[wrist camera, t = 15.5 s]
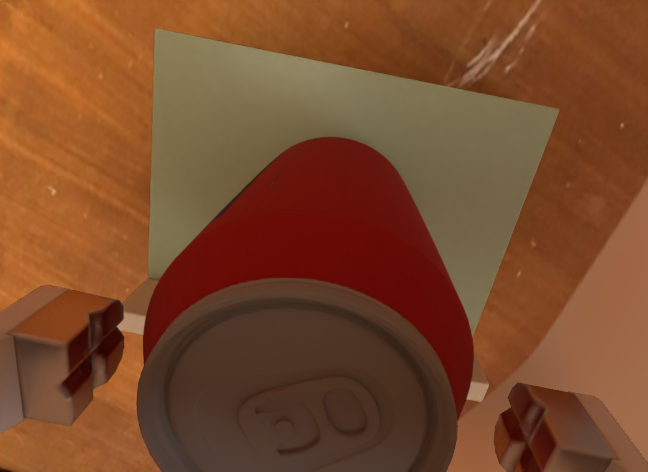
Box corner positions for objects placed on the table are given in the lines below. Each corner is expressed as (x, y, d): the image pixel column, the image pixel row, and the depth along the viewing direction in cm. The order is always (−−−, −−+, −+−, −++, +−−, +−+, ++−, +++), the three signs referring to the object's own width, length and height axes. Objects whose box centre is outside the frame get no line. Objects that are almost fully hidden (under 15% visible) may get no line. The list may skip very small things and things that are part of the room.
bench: (513, 102, 20) (605, 115, 13) (444, 305, 25) (482, 403, 17) (199, 39, 20) (111, 16, 13) (185, 254, 25) (113, 330, 17)
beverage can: (230, 166, 18) (10, 323, 6) (380, 107, 16) (438, 174, 5) (290, 297, 20) (206, 587, 8) (428, 254, 18) (543, 531, 7)
